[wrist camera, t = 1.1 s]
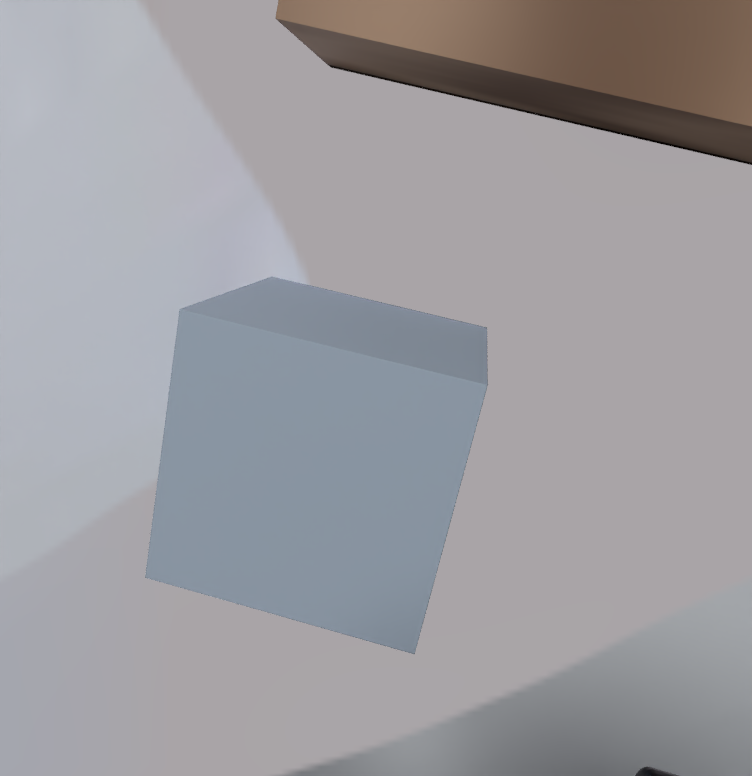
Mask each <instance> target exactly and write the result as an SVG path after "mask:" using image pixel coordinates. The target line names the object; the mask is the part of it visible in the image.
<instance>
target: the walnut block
mask: <svg viewBox="0 0 752 776" xmlns="http://www.w3.org/2000/svg"><path fill="white" fill-rule="evenodd" d="M276 19H277V20H278V21H279V22H280V23H281V24H282V25H283V26H285V27H286V28H287V29H288V30H289V31H290V32H291V33H293V34H294V35H295V36H296V37H297V38H298V39H299V40H300V41H302V42H303V43H304V44H305V45H306V46H307V47H308V48H310V49H311V50H312V51H313V52H314V53H315V54H316V55H317V56H319V57H320V58H321V59H322V60H323V61H324V62H325V63H326V64H328V65H329V66H330V67H331V68H336V69H340V70H344V71H348V72H353V73H357V74H361V75H365V76H370V77H374V78H378V79H383V80H387V81H391V82H396V83H400V84H404V85H409V86H413V87H418V88H422V89H426V90H430V91H435V92H439V93H443V94H447V95H452V96H456V97H461V98H465V99H469V100H473V101H478V102H482V103H486V104H491V105H495V106H499V107H504V108H508V109H512V110H517V111H521V112H526V113H530V114H534V115H538V116H542V117H547V118H551V119H556V120H560V121H564V122H568V123H573V124H577V125H581V126H586V127H590V128H594V129H598V130H603V131H608V132H612V133H616V134H621V135H624V136H629V137H633V138H637V139H642V140H646V141H650V142H655V143H659V144H663V145H668V146H672V147H676V148H681V149H685V150H689V151H693V152H698V153H703V154H707V155H711V156H715V157H719V158H724V159H728V160H732V161H737V162H741V163H746V164H750V165H752V0H279V1H278V7H277V12H276Z"/></svg>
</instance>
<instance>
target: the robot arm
mask: <svg viewBox="0 0 752 776" xmlns="http://www.w3.org/2000/svg"><path fill="white" fill-rule="evenodd" d="M635 776H679V775H675V774H672V773H668V772H665V771H662V770H658V769H655V768H651V767H644V768H642V769H640V770H639V771H638V772H637V774H636V775H635Z"/></svg>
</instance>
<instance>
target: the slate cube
mask: <svg viewBox="0 0 752 776" xmlns="http://www.w3.org/2000/svg"><path fill="white" fill-rule="evenodd" d="M487 385H488V380H487V327H483V326H479V325H474V324H470V323H466V322H462V321H457V320H454V319H449V318H445V317H441V316H437V315H432V314H428V313H424V312H420V311H416V310H412V309H407V308H403V307H399V306H394V305H391V304H386V303H382V302H378V301H374V300H369V299H366V298H361V297H357V296H353V295H348V294H344V293H340V292H336V291H332V290H328V289H324V288H319V287H315V286H311V285H305V284H300V283H296V282H292V281H288V280H284V279H280V278H275V277H270V278H267V279H264V280H261V281H258V282H256V283H253V284H250V285H247V286H244V287H241V288H239V289H236V290H233V291H230V292H227V293H224V294H222V295H219V296H216V297H213V298H210V299H207V300H205V301H202V302H199V303H196V304H193V305H190V306H188V307H185V308H182V309H180V311H179V319H178V327H177V334H176V342H175V350H174V358H173V365H172V373H171V381H170V389H169V397H168V404H167V412H166V420H165V428H164V435H163V443H162V451H161V459H160V467H159V474H158V482H157V490H156V498H155V505H154V513H153V522H152V529H151V537H150V545H149V552H148V560H147V568H146V576H145V577H146V578H149V579H152V580H156V581H159V582H163V583H166V584H170V585H173V586H177V587H180V588H184V589H187V590H191V591H194V592H198V593H201V594H205V595H208V596H212V597H216V598H219V599H222V600H226V601H230V602H233V603H237V604H240V605H244V606H247V607H251V608H254V609H258V610H261V611H265V612H268V613H272V614H276V615H279V616H282V617H286V618H289V619H293V620H296V621H300V622H303V623H307V624H311V625H314V626H317V627H321V628H324V629H328V630H331V631H335V632H339V633H342V634H345V635H349V636H353V637H356V638H360V639H363V640H366V641H370V642H373V643H377V644H380V645H384V646H388V647H391V648H394V649H398V650H401V651H405V652H409V653H412V654H415V650H416V646H417V642H418V639H419V635H420V632H421V627H422V624H423V620H424V616H425V613H426V610H427V606H428V602H429V599H430V595H431V591H432V587H433V583H434V580H435V576H436V573H437V569H438V565H439V562H440V558H441V554H442V551H443V547H444V543H445V540H446V536H447V532H448V529H449V525H450V521H451V518H452V514H453V510H454V507H455V503H456V499H457V496H458V492H459V488H460V485H461V481H462V477H463V473H464V470H465V466H466V463H467V459H468V455H469V451H470V448H471V444H472V440H473V437H474V433H475V429H476V426H477V422H478V418H479V415H480V411H481V407H482V404H483V400H484V396H485V393H486V389H487Z"/></svg>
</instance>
